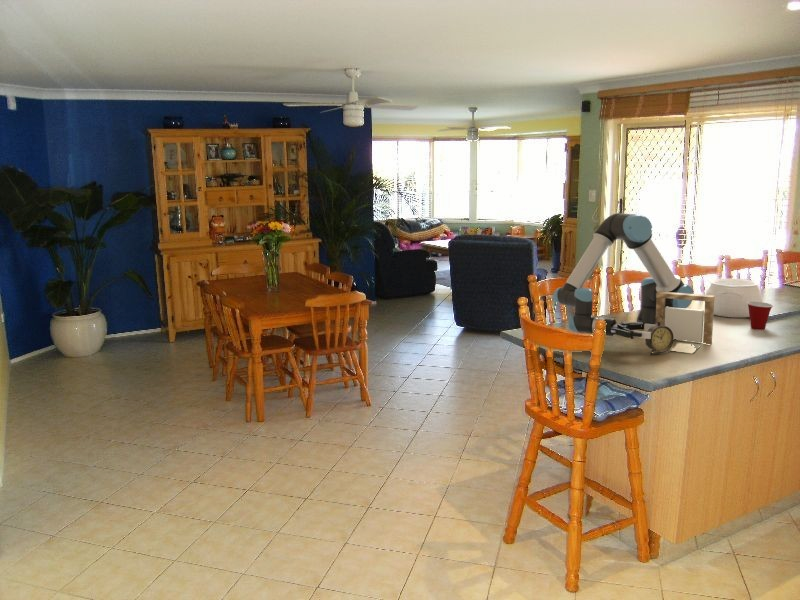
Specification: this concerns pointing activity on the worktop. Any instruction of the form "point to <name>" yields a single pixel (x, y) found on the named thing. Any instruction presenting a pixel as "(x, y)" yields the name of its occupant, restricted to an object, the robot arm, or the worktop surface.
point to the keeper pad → (695, 345)
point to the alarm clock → (660, 338)
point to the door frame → (697, 297)
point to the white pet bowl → (734, 296)
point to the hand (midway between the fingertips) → (655, 332)
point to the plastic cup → (759, 314)
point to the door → (685, 323)
